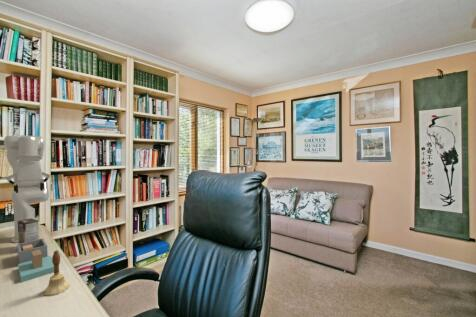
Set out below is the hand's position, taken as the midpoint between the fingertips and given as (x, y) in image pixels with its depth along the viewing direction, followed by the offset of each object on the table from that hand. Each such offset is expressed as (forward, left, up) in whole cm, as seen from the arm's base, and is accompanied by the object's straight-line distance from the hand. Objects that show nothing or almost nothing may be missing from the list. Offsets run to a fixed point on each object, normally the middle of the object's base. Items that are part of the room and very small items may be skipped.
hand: (29, 191), depth 120 cm
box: (+5, 0, -34) cm, 35 cm away
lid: (+23, 0, -34) cm, 41 cm away
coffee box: (-12, 0, -34) cm, 37 cm away
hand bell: (+48, +4, -35) cm, 59 cm away
